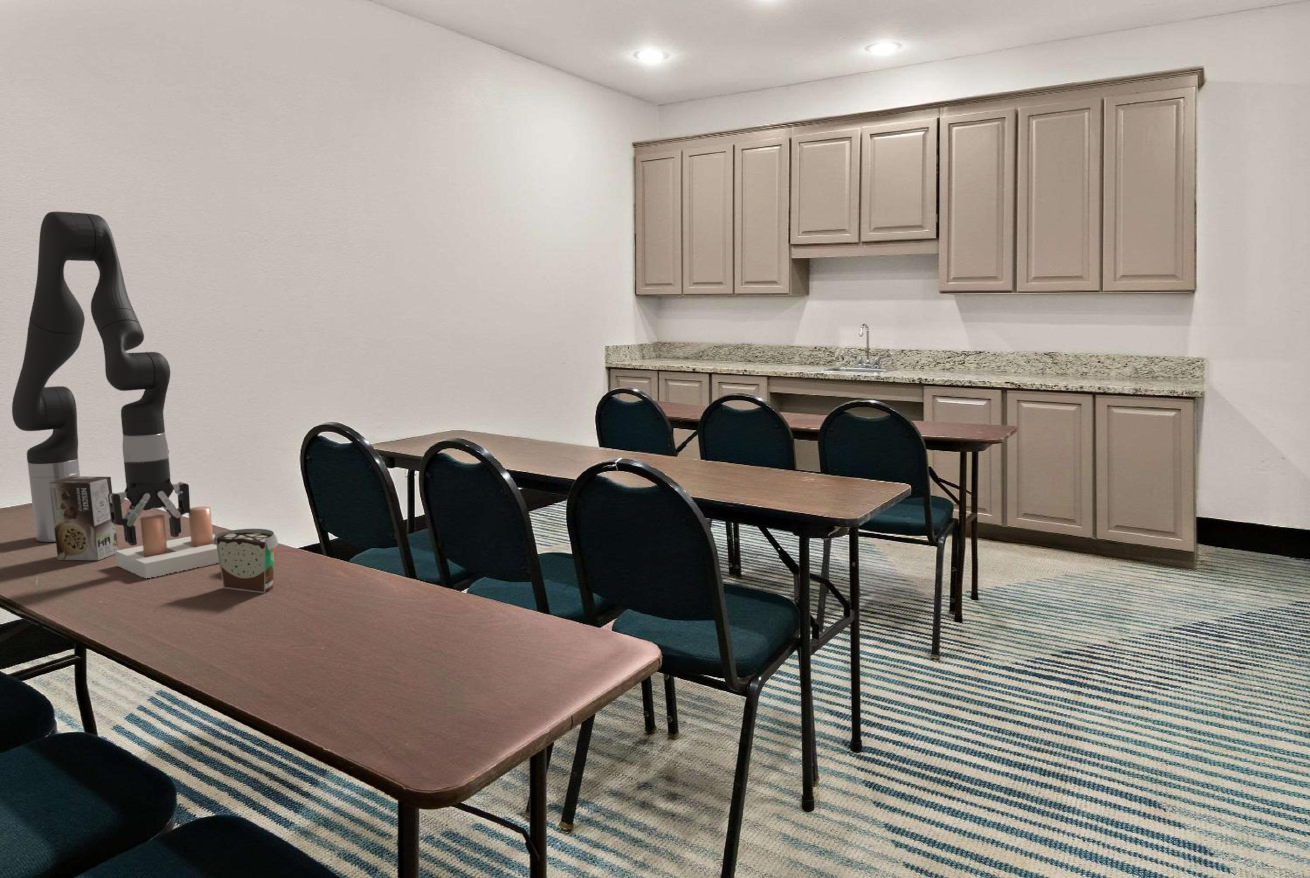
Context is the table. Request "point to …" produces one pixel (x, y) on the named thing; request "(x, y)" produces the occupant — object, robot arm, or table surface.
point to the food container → (247, 559)
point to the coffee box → (83, 518)
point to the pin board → (176, 550)
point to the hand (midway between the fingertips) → (153, 540)
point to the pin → (153, 535)
